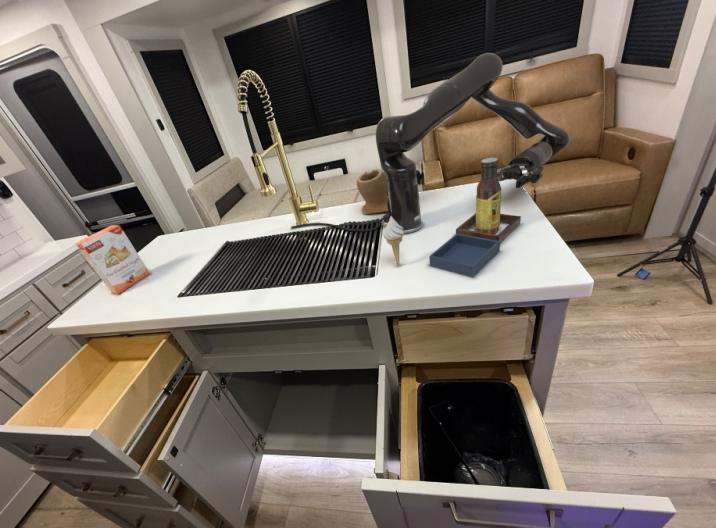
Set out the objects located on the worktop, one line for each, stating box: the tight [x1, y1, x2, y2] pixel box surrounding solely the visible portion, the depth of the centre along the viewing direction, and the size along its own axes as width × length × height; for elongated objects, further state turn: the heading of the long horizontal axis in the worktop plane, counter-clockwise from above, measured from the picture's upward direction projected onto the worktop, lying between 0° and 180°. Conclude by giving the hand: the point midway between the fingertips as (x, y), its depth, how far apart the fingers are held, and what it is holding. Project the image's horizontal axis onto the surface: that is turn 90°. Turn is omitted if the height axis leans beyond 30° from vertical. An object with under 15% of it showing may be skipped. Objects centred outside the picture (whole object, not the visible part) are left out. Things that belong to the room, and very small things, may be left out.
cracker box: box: [75, 224, 151, 295], centre depth 123 cm, size 14×6×21 cm, turn 148°
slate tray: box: [428, 233, 501, 278], centre depth 88 cm, size 12×13×3 cm
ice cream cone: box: [382, 216, 405, 267], centre depth 90 cm, size 6×6×15 cm
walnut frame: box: [455, 212, 522, 244], centre depth 97 cm, size 13×13×2 cm
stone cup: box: [356, 168, 389, 215], centre depth 123 cm, size 15×12×15 cm
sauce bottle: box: [475, 157, 502, 234], centre depth 92 cm, size 7×6×20 cm
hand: (501, 183), depth 95 cm, fingers open, 8 cm apart
